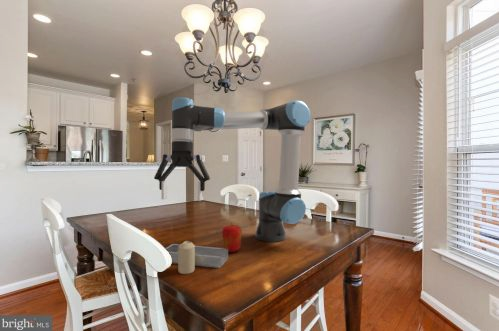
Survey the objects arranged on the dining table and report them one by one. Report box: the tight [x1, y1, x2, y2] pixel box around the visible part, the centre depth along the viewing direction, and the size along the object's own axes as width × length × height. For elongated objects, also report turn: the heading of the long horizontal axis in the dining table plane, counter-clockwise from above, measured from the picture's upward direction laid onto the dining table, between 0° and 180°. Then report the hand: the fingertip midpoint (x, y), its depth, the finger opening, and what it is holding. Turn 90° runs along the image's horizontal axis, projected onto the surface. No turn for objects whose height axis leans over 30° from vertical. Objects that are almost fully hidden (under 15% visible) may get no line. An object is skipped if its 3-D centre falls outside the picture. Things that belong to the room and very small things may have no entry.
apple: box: [221, 223, 243, 253], centre depth 108 cm, size 9×8×12 cm
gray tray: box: [164, 243, 229, 269], centre depth 98 cm, size 24×10×4 cm, turn 77°
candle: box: [177, 240, 196, 275], centre depth 88 cm, size 6×6×10 cm
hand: (181, 199), depth 93 cm, fingers open, 13 cm apart
